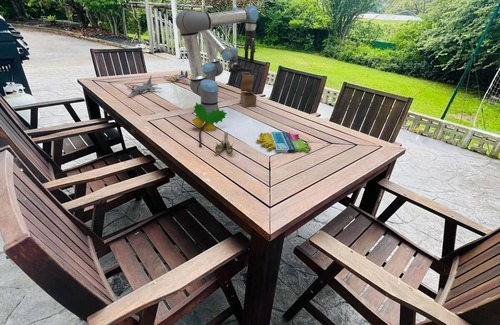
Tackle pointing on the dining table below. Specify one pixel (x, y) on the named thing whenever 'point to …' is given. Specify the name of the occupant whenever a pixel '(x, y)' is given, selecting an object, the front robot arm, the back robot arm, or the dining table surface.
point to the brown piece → (247, 82)
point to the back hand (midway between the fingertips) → (242, 72)
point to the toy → (178, 77)
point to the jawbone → (224, 145)
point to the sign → (283, 142)
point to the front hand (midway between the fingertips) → (248, 61)
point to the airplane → (142, 88)
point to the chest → (248, 99)
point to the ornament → (207, 117)
